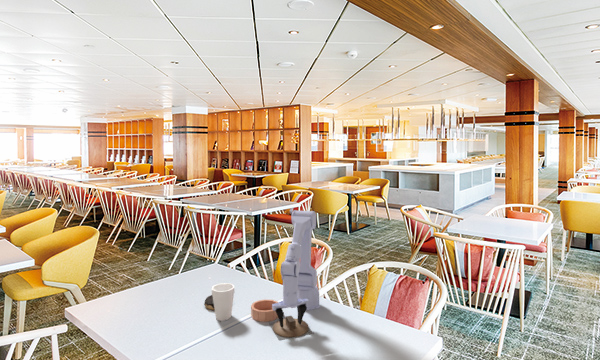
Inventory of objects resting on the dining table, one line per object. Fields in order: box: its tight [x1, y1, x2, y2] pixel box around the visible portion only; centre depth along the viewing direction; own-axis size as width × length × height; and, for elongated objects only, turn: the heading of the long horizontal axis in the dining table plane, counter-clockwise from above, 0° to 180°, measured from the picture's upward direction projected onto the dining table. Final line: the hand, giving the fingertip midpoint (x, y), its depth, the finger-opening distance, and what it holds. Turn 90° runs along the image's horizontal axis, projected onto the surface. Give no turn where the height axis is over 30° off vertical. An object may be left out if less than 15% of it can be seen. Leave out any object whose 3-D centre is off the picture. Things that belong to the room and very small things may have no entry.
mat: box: [268, 317, 315, 341], centre depth 147 cm, size 14×14×1 cm
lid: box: [272, 315, 309, 338], centre depth 147 cm, size 14×14×4 cm
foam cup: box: [211, 282, 235, 322], centre depth 157 cm, size 10×9×13 cm
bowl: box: [250, 299, 279, 323], centre depth 159 cm, size 12×12×4 cm
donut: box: [203, 294, 215, 311], centre depth 170 cm, size 11×12×4 cm
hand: (290, 324), depth 147 cm, fingers open, 7 cm apart
